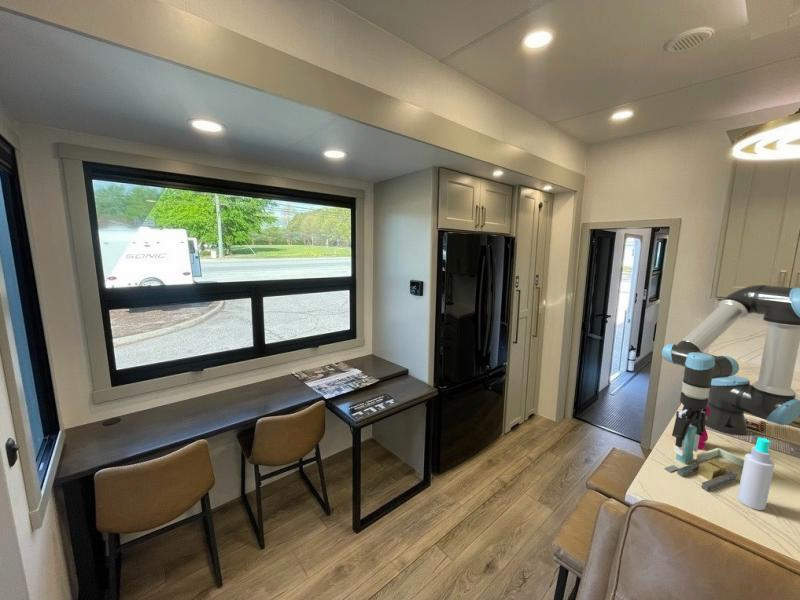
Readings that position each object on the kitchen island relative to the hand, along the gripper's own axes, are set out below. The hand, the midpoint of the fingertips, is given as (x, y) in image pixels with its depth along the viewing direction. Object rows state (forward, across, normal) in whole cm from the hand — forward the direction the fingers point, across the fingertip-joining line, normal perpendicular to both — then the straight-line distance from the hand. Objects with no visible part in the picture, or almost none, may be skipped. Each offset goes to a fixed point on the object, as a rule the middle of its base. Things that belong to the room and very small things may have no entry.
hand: (685, 451), depth 122 cm
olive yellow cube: (+4, +2, +8) cm, 9 cm away
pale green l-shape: (+4, -10, +8) cm, 14 cm away
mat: (+4, +10, +2) cm, 11 cm away
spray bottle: (+4, +4, +21) cm, 21 cm away
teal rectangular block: (+4, 0, 0) cm, 4 cm away
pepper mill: (+4, -15, -5) cm, 16 cm away
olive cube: (+4, -3, +8) cm, 10 cm away
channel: (+4, +3, +8) cm, 10 cm away
